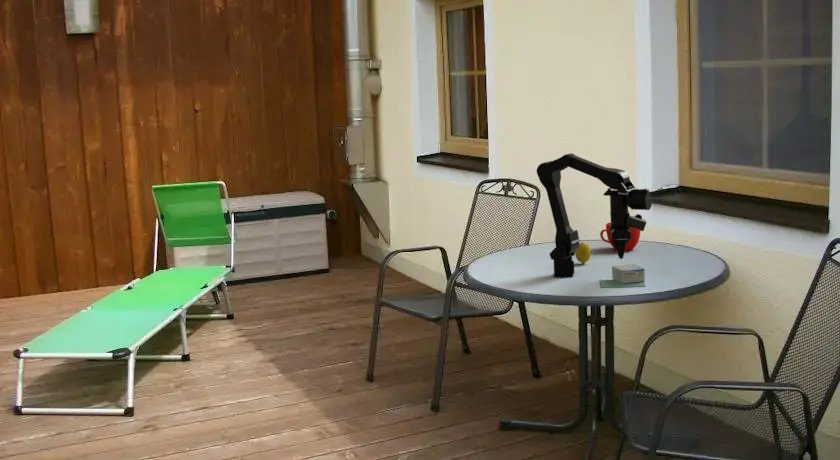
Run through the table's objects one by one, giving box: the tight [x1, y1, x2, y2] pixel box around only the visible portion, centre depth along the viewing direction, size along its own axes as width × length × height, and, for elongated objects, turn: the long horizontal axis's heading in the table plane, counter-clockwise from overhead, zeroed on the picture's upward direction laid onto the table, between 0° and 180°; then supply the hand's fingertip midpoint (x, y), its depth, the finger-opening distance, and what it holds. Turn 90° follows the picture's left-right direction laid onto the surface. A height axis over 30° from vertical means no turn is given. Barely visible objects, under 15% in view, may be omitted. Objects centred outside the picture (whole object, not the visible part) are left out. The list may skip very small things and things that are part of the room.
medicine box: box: [611, 263, 646, 284], centre depth 316 cm, size 8×4×9 cm
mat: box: [599, 279, 646, 289], centre depth 313 cm, size 14×10×1 cm
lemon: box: [574, 241, 592, 265], centre depth 347 cm, size 6×6×8 cm
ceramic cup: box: [599, 221, 641, 252], centre depth 367 cm, size 13×17×10 cm
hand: (620, 255), depth 318 cm, fingers open, 9 cm apart
